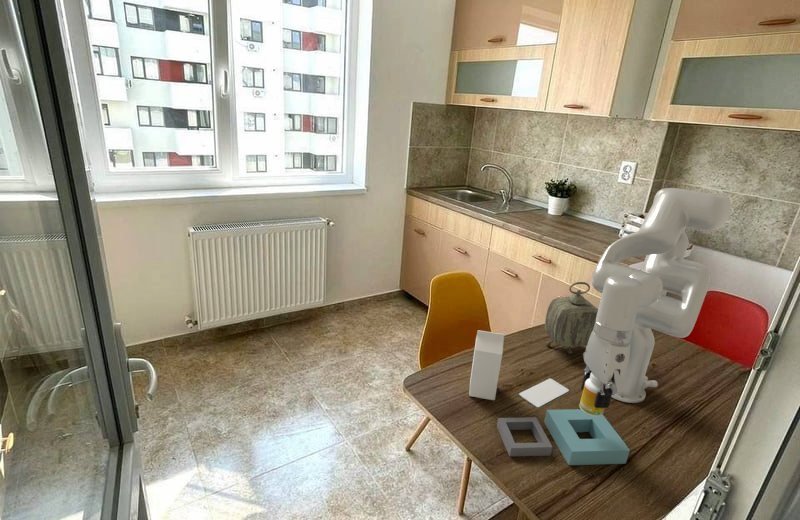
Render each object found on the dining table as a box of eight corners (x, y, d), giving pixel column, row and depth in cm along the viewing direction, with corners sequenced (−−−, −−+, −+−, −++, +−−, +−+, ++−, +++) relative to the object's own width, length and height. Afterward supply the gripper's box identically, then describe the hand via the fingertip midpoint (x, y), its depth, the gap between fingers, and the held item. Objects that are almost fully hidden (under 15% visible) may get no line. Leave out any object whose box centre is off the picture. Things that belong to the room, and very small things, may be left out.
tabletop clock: (579, 342, 152) (594, 277, 143) (593, 357, 144) (610, 288, 135) (540, 343, 150) (553, 276, 141) (552, 358, 142) (567, 288, 133)
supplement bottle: (594, 420, 100) (603, 385, 97) (574, 406, 104) (582, 372, 101) (608, 413, 103) (617, 378, 99) (588, 399, 107) (596, 366, 104)
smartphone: (517, 394, 123) (550, 377, 131) (516, 395, 123) (550, 379, 132) (537, 408, 118) (570, 390, 126) (536, 409, 118) (570, 391, 126)
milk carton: (494, 401, 120) (504, 341, 113) (468, 396, 121) (477, 336, 114) (494, 385, 126) (504, 328, 120) (470, 381, 127) (478, 324, 121)
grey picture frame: (534, 425, 112) (536, 417, 111) (550, 455, 102) (552, 447, 101) (496, 425, 111) (498, 417, 110) (509, 456, 101) (511, 448, 100)
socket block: (595, 421, 114) (598, 409, 113) (625, 463, 101) (630, 450, 100) (544, 422, 113) (546, 409, 111) (568, 465, 100) (572, 451, 98)
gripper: (652, 352, 89) (630, 423, 95) (607, 312, 104) (590, 376, 111) (617, 351, 88) (597, 424, 94) (577, 312, 104) (562, 376, 110)
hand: (594, 397), depth 102 cm, fingers closed on supplement bottle, 5 cm apart
